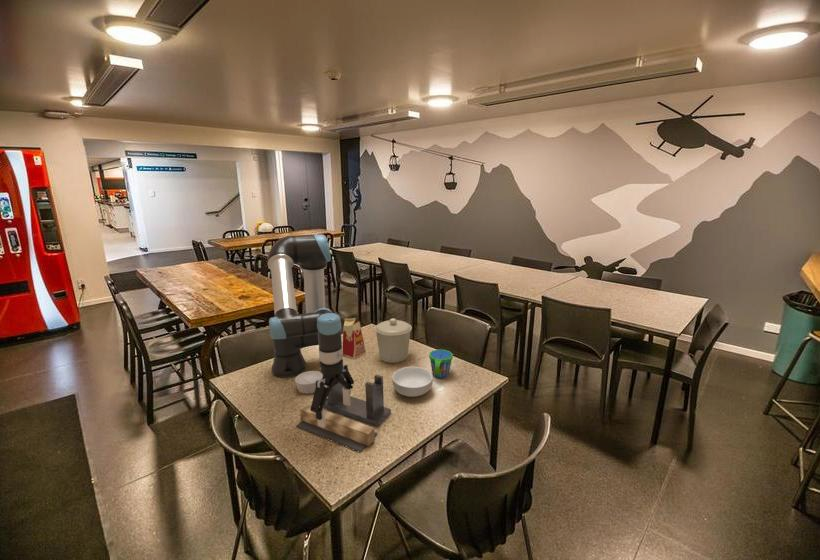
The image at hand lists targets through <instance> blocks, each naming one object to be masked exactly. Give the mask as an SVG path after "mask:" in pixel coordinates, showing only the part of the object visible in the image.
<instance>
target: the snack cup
mask: <svg viewBox="0 0 820 560" xmlns="http://www.w3.org/2000/svg"><path fill="white" fill-rule="evenodd" d="M428 354H429V355H428V359H430V360H429V361H430V367H431V374H432V376H433V377H435V378H437V379H445V378H448V376H449V375H450V371H451V367H452V360H453V357H454V354H453V353H452V352H451V351H450V350H447V349H433V350H431V351H430V352H429V353H428Z"/></svg>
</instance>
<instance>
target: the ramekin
mask: <svg viewBox="0 0 820 560" xmlns="http://www.w3.org/2000/svg"><path fill="white" fill-rule="evenodd" d="M322 378H323V374H322V373H321V371H318V370H317V371H316V370H309V371H303V372H302V373H300V374H298V375H296V377H295V378H294V382H295V384H296V387H297V390H298V392H299V393H301V394H304V393H305V394H304V395H309V393H310V394H313V393H314V392H315V388H316V381H317V380H318V381H320V380H322Z"/></svg>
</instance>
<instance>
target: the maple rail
mask: <svg viewBox="0 0 820 560" xmlns="http://www.w3.org/2000/svg"><path fill="white" fill-rule="evenodd" d="M311 405H312V404H307V403H306V404H304V405H303V406H302V407H300V408H299V420H300V421H301V422H302V421H305V422H307V423H310V424H313V425H315V426H318V421H317V419H316V413H315V412H312V411H310V409H311ZM324 411H325V424H326V427H325V428H323V427H320V426H318V427H320V428H323V429H326V430H328V431H331V432H333V433H336V434H339V435H341V436H344V437H346V438H349V439H352V440H354V441H357V442H360V443H362V444H365V445H367V446H366V447H369V446H370V445H372V443H374V442H375V440H376V437H375V433H376V431H375V427H374V426H371V425H368V424H366V423H363V422H362V423H361V422H360V421H356V420H354V419H351V418H349V417H348V418H347V417H346V416H343V415H340V414H337V413H335V412H334V413H333V412H332V411H329V410H326V409H324Z"/></svg>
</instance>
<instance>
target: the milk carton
mask: <svg viewBox="0 0 820 560" xmlns="http://www.w3.org/2000/svg"><path fill="white" fill-rule="evenodd" d="M343 320H344V322H343V323H344V324H343V330H342V357H346V358H350V359H353V360H355V359H357V358H359V357H361V356H362V355H364V354H367V350H366V345H365V339H364V336H363V331H362V327H361V323H360V320H357V318H356V317H353V318H344V319H343Z"/></svg>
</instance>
